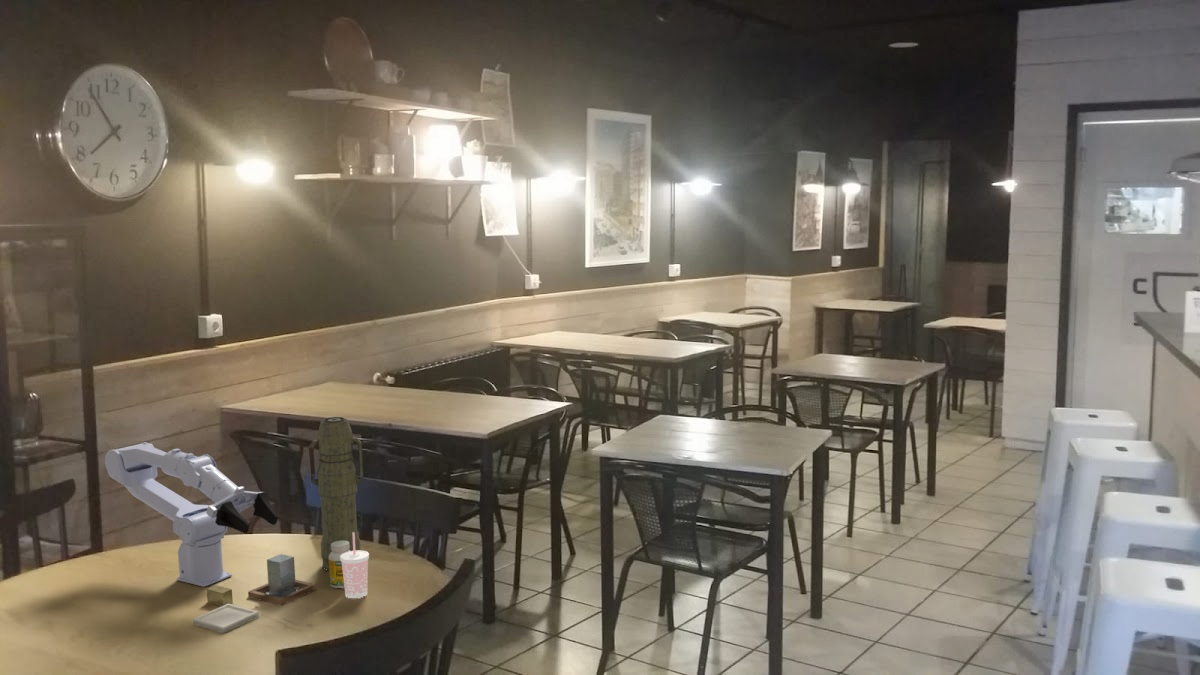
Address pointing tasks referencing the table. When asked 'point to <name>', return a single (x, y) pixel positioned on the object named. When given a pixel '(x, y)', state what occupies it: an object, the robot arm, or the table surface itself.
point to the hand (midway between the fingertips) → (261, 525)
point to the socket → (306, 589)
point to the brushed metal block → (281, 575)
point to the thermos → (336, 483)
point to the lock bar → (219, 595)
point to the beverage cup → (355, 572)
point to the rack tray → (225, 618)
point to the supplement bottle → (337, 563)
